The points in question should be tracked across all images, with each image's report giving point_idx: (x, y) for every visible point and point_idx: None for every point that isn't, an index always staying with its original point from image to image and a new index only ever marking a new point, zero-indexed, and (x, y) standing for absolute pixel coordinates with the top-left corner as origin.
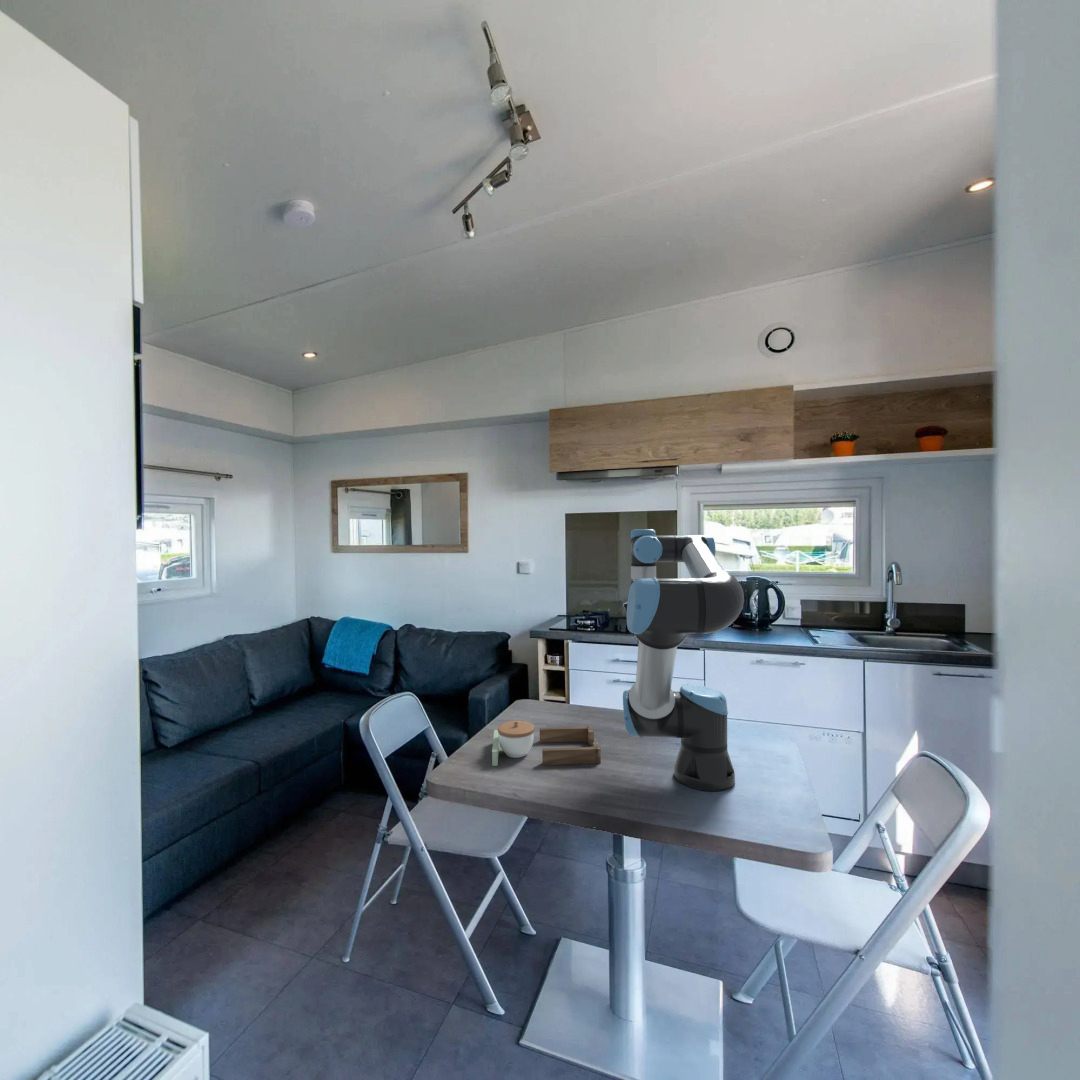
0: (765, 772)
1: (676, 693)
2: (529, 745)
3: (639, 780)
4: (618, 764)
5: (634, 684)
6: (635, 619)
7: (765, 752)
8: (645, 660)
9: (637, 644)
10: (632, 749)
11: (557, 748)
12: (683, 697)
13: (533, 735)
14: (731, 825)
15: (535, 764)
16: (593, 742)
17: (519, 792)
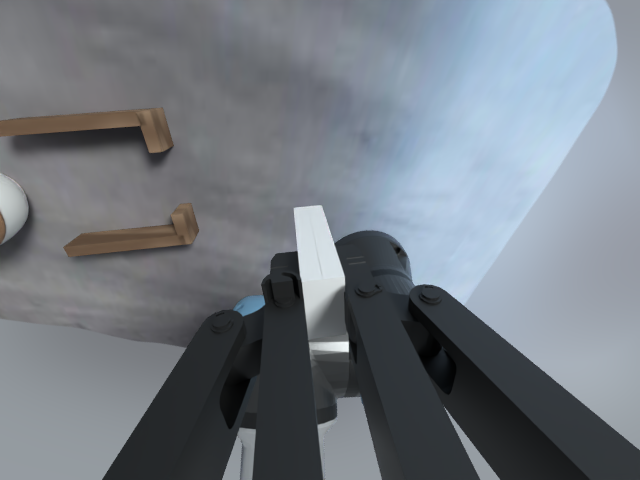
0: (459, 249)
1: (350, 390)
2: (23, 224)
3: None
4: (232, 233)
5: (241, 434)
6: None
7: (509, 178)
8: None
9: (271, 264)
10: (263, 168)
11: (98, 246)
12: (360, 396)
13: (11, 216)
14: None
15: (70, 240)
16: (170, 146)
17: (85, 321)
